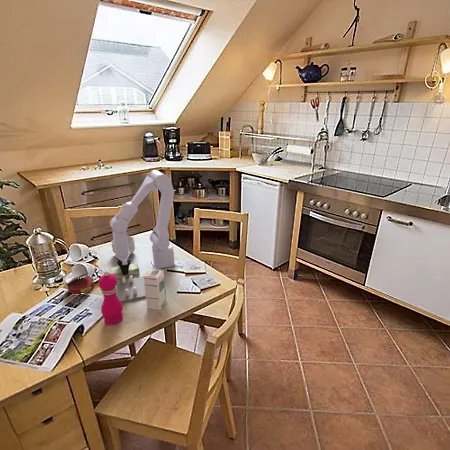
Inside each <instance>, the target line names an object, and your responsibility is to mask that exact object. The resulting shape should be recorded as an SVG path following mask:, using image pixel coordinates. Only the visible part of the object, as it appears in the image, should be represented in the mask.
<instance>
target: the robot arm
mask: <svg viewBox="0 0 450 450" xmlns="http://www.w3.org/2000/svg"><path fill="white" fill-rule="evenodd" d="M157 191H159V192H160V193H161V195H160V200H159V201H160V202H159V206H158V214H157V219H156V225H155V227H153V230H152V232H151V234H150V236H149V240H150V242H151V243H152V247H151V248H152V250H151V251H152V260H151V264H152V267H153V268H155V269H165V268H170V267H174V265H175V264H176V263H175V251H174V248H173V246H172V244H171V242H170V240H169V239H170V235H169V230H168V229H169V223H170V218H171V212H172V207H173V201H174V196H175V189H174V186H173V184H172V179H171V178H170V177H168V175H166V174H164V173H163V172H161V171H160V170H157V169H153V170H151V171H150V172H149V173H148V175H147V176H146V177H145V179H144V180H143V182H142V184H141V185H140V187H139V188H138V190H137V191H136V193H135V194H134V195H133V197H132V199H130V200H131V201H127V202H125V203H123V204H122V205H121V209H120V210H119V211H118V213H117V214H116V213H115V216H114V217H112V218H111V219H110V222H109V226H110V227H111V228H112V230H111V231H112V240H113V241H114V248H115V253H114V252H113V253H112V257H113V258H116V259H117V261H116V264H117V267H120V268H121V271H122V274H123V275H127V274H128V272H129V266H130V264H132V260H131V259H129V254H130V252H129V247H128V240H127V236H128V234H127V230H128V227H129V223H130V221H131V220H132V219H133V218H134V216H135V215H136V214H137V212H138V211H139V210H138V206H139V205H140V204H141V203H142V202H143V200H145V198H146V197H147V195H149V193H151V192H157Z"/></svg>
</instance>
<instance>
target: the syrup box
mask: <svg viewBox="0 0 450 450" xmlns="http://www.w3.org/2000/svg"><path fill="white" fill-rule="evenodd" d="M142 277H143V278H144V286H145V294H146V298H145V300H146V308H147V309H151V310H160V311H161V310H162V309H163V307H164V306H165V305H166V302H167V295H166V294H167V291H166V282H165V281H166V280H165V270H164V269H163V268H161V269H155V268H154V267H153V268H152V267H151V268H149V269H148V270H147V271H146V272H145V274H144V275H143V276H142Z"/></svg>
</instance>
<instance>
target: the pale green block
mask: <svg viewBox="0 0 450 450" xmlns="http://www.w3.org/2000/svg"><path fill="white" fill-rule="evenodd" d="M108 269H109V274H113V275H115V276H116V278H117V280H118V279H122V277H125V278H127V277H128V278H129V276H131V275H132V276H137V275H140V267H139V264H138V262H135V263H131V264H130V266H129V272H128V274H127V275H123V274H122V271H121V268H120V267H119V266H115V267H110V268H108Z"/></svg>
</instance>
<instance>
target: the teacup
mask: <svg viewBox="0 0 450 450" xmlns="http://www.w3.org/2000/svg"><path fill="white" fill-rule="evenodd" d="M127 240H128V247H129V252H130V254H129V256H131V255H132V254H133V253H134V252H135V250H136V247H135V245H136V244H135V238H134V237H133V236H130V235H127ZM110 244H111V248H112V252H113V254H114V253H115V248H114V241H113V239H112V240H111V242H110Z"/></svg>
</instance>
